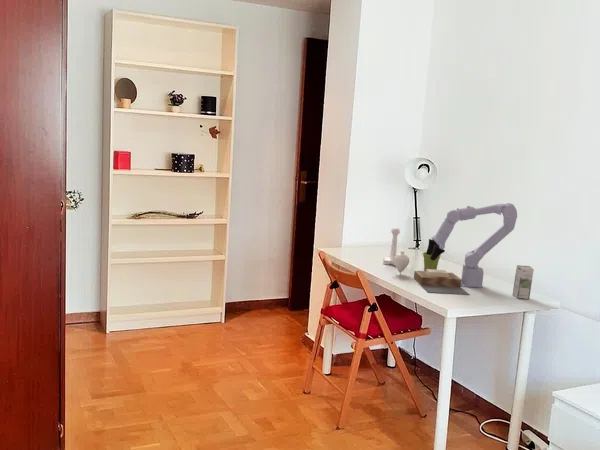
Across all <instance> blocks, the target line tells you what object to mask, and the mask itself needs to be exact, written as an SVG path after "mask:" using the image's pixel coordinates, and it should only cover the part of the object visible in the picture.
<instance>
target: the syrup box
mask: <svg viewBox="0 0 600 450" xmlns="http://www.w3.org/2000/svg"><path fill="white" fill-rule="evenodd" d="M515 268H516V269H515V275H514V281H513V282H514V283H513V290H512V296H513V297H514V298H515V297H516V298H515V299H517V298H523V299H522V300H530V296H531V290H532V284H533V283H532V282H533V278H534V271H535V269H534V268H533V267H532V266H530V265H520V264H519V265H516V267H515Z"/></svg>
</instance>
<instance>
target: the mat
mask: <svg viewBox="0 0 600 450" xmlns="http://www.w3.org/2000/svg"><path fill="white" fill-rule="evenodd" d="M420 287H421V288H423V290H424V291H426V292H427V294H428V293H429V294H444V295H445V294H448V295H463V296H464V295H465V296H469V295H470V294H469V293H468V292H467V290H465V289H464V288H462V287H448V286H429V285H420Z"/></svg>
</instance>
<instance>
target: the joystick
mask: <svg viewBox="0 0 600 450" xmlns="http://www.w3.org/2000/svg"><path fill="white" fill-rule="evenodd" d="M390 231H391V232H390V233H391V234H392V241H391V246H390V247H391V249H390V255H389V257H383V260H382V263H383V264H384V265H386V264H387V266H389V265H393V266H395V263H394V257H395V256H396V255H397V248H398V247H397V245H398V237H399V235H400V233H401V230H400V228H399V227H398V226H393V227H392V228H391V230H390Z"/></svg>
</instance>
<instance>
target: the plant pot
mask: <svg viewBox="0 0 600 450" xmlns="http://www.w3.org/2000/svg"><path fill="white" fill-rule="evenodd" d="M426 252H427V251H425V252H422V257H423V268H424V269H423V271H426V269H434V270H438V265H439V260H440V258H441V257H442V254H440V255H439V256H438V257H437V258H436V259H435V260H434V261H433V260H431V259H430V257H431V255H432V254H431V255H428V254H426Z"/></svg>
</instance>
